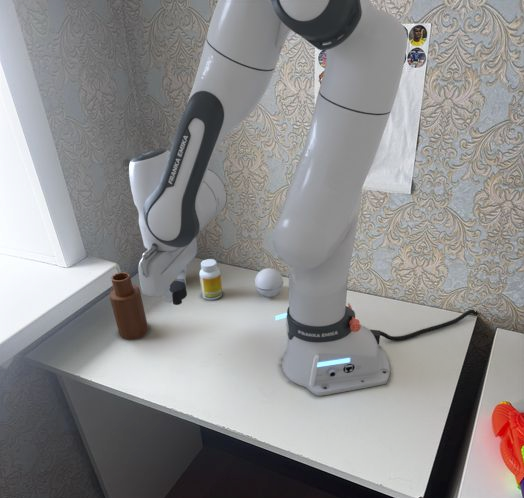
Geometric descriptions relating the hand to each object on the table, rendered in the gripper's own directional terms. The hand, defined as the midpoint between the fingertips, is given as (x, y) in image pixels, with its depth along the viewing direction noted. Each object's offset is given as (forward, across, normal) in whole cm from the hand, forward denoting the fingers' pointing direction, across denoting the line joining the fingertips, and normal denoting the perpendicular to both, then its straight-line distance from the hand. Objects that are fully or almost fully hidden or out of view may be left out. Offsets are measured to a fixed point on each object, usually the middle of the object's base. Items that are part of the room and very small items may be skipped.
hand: (175, 293), depth 109 cm
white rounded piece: (+13, +23, -15) cm, 30 cm away
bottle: (+12, 0, +14) cm, 18 cm away
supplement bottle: (+13, +20, +1) cm, 24 cm away
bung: (+2, 0, 0) cm, 2 cm away
